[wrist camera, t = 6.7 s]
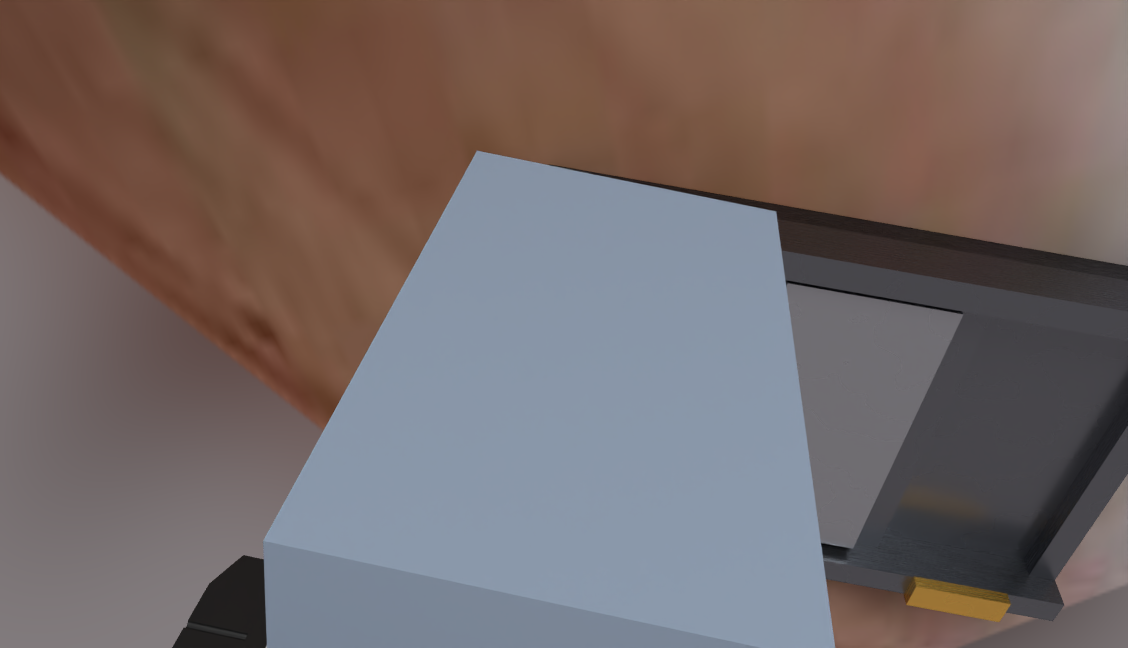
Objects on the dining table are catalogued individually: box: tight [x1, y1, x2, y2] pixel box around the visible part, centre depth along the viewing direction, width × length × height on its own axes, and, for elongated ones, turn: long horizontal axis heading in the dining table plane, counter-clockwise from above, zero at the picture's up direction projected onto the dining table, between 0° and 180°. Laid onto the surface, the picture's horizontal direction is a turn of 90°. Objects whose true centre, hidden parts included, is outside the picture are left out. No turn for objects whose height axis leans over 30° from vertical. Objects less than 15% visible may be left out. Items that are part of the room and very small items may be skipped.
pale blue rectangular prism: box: [263, 151, 835, 648], centre depth 12 cm, size 4×10×7 cm, turn 171°
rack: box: [550, 165, 1128, 622], centre depth 33 cm, size 22×14×4 cm, turn 82°
